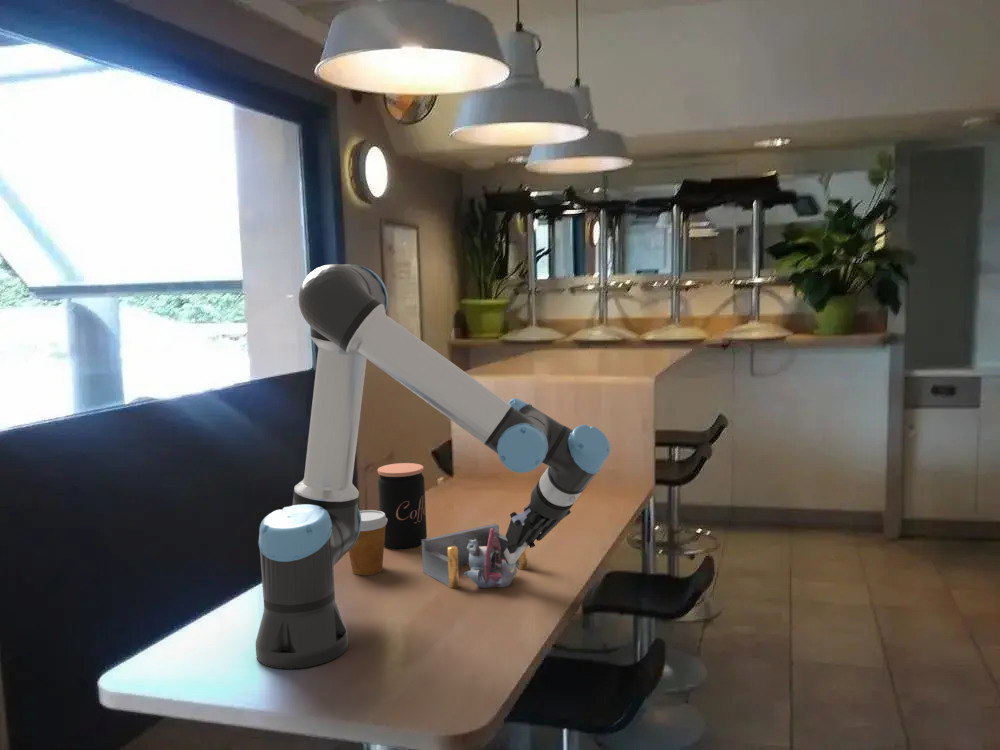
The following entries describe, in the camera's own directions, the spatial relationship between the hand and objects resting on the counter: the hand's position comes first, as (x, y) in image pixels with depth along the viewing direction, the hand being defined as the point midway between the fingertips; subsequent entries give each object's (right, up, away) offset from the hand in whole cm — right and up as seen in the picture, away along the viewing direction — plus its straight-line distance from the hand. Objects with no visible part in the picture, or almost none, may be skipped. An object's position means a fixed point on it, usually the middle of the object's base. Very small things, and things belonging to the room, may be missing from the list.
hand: (509, 557), depth 174 cm
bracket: (-7, -5, +10) cm, 13 cm away
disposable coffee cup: (-30, -5, +12) cm, 33 cm away
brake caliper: (-4, -6, +3) cm, 7 cm away
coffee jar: (-24, -3, +30) cm, 39 cm away
